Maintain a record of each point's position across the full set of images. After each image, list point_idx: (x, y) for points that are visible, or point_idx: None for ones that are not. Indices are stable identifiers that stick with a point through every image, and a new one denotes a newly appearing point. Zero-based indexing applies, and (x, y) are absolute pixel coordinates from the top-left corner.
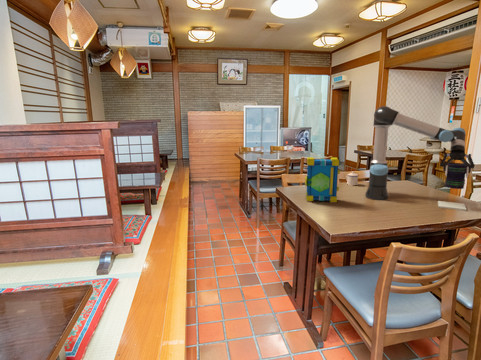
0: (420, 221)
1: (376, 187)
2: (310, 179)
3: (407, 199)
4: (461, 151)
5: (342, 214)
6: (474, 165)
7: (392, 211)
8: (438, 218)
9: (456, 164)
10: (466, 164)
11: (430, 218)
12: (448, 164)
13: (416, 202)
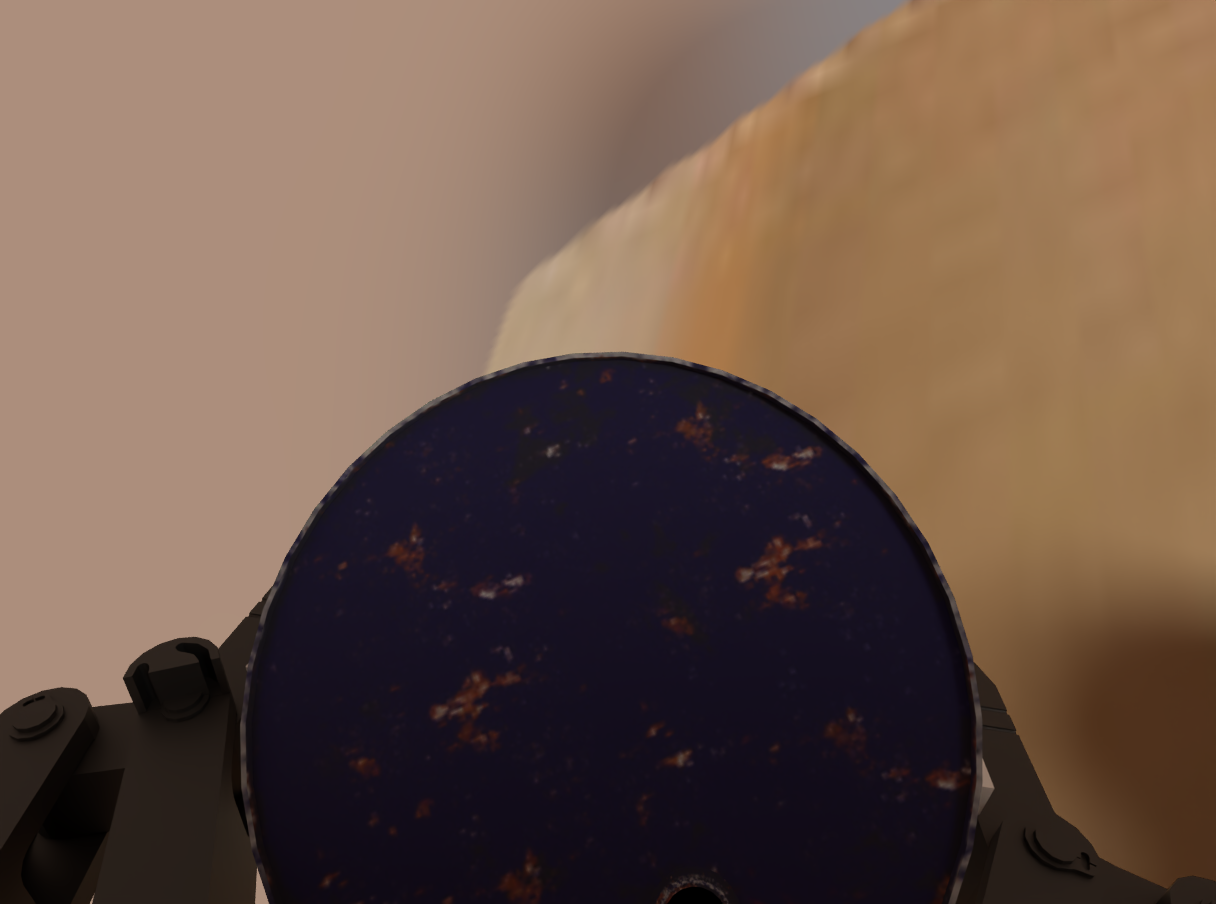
0: (958, 39)
1: None
2: None
3: (1126, 826)
4: None
5: None
6: (5, 716)
7: (1205, 210)
8: (819, 163)
9: (671, 548)
10: (271, 687)
11: (881, 138)
12: (950, 637)
13: (1006, 690)
